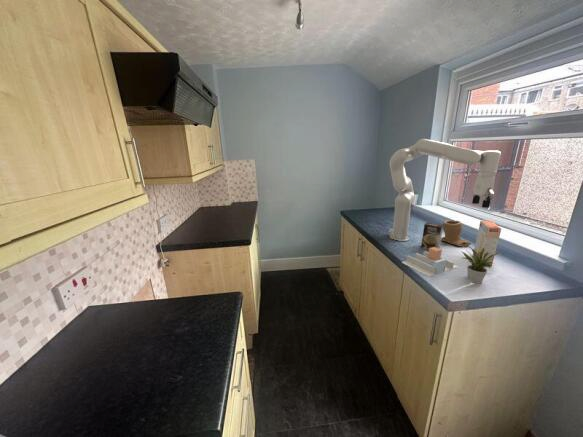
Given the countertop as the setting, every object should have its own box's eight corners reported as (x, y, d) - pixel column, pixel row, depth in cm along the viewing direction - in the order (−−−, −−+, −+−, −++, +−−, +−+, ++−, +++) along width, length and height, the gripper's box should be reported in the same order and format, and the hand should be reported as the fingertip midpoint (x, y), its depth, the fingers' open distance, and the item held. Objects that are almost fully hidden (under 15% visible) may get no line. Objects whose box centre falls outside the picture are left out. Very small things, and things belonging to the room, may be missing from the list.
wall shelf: (401, 263, 124) (402, 251, 122) (428, 256, 133) (430, 244, 131) (428, 277, 110) (430, 264, 108) (457, 268, 119) (460, 255, 117)
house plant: (486, 274, 112) (493, 243, 108) (504, 290, 99) (513, 255, 95) (453, 271, 116) (459, 241, 111) (466, 286, 103) (473, 252, 98)
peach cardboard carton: (427, 262, 123) (429, 248, 121) (432, 260, 125) (434, 246, 123) (434, 265, 120) (436, 251, 118) (439, 263, 121) (441, 249, 119)
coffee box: (420, 249, 142) (423, 224, 138) (423, 246, 147) (426, 221, 142) (437, 253, 136) (441, 227, 132) (439, 249, 141) (443, 224, 136)
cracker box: (492, 266, 119) (502, 228, 114) (478, 264, 122) (486, 226, 116) (485, 256, 131) (493, 220, 126) (472, 254, 134) (480, 219, 128)
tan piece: (435, 240, 155) (439, 219, 151) (449, 238, 159) (453, 217, 155) (457, 249, 141) (461, 225, 137) (471, 246, 145) (476, 223, 141)
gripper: (470, 173, 133) (464, 202, 138) (488, 176, 117) (481, 208, 122) (485, 173, 132) (479, 202, 137) (505, 176, 116) (497, 209, 120)
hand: (480, 205), depth 129 cm, fingers open, 9 cm apart
